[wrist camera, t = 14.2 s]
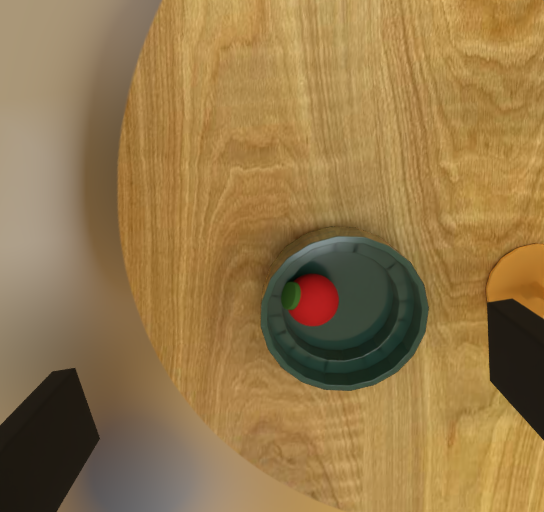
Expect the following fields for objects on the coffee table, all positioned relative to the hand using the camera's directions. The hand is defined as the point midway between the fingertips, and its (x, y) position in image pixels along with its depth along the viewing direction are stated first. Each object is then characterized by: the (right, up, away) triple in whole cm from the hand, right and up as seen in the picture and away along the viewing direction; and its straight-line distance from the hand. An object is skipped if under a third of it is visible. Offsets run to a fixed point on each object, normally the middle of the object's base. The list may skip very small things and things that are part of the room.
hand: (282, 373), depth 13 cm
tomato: (+6, -1, +27) cm, 27 cm away
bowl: (+6, -1, +29) cm, 30 cm away
